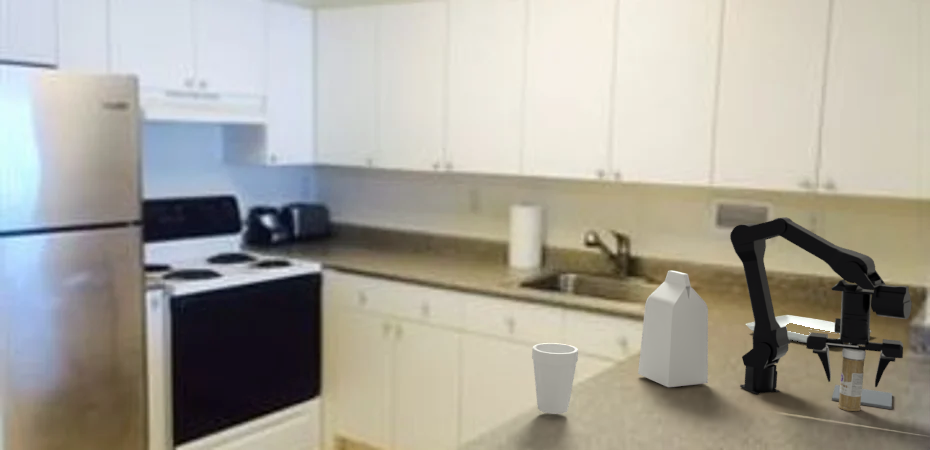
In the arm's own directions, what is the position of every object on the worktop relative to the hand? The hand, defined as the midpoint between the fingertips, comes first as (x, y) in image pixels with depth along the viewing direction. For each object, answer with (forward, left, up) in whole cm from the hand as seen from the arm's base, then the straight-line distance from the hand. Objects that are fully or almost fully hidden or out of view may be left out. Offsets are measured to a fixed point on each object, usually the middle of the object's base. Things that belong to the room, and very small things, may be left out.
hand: (852, 384), depth 179 cm
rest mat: (+9, +6, -6) cm, 12 cm away
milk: (-26, +30, -6) cm, 40 cm away
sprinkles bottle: (0, 0, -6) cm, 6 cm away
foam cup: (-64, +14, -6) cm, 66 cm away
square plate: (+41, +63, -6) cm, 75 cm away
